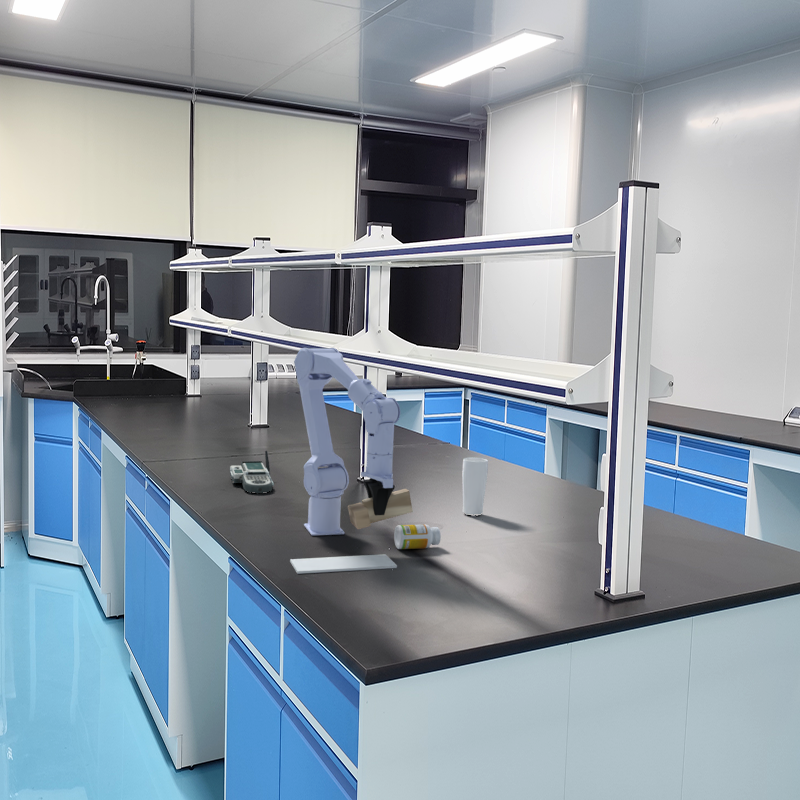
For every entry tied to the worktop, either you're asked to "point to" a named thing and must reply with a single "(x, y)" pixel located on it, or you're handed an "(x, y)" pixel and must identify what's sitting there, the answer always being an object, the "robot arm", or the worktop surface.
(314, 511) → the robot arm
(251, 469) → the communication device
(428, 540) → the supplement bottle
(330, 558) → the grey mat
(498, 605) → the worktop surface
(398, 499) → the tan boxy piece
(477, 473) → the drinking glass
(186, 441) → the worktop surface
